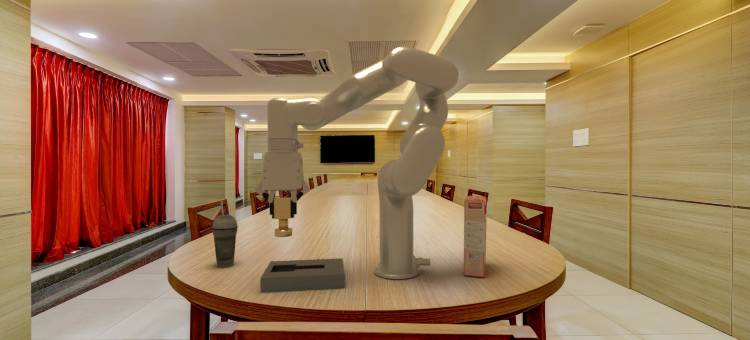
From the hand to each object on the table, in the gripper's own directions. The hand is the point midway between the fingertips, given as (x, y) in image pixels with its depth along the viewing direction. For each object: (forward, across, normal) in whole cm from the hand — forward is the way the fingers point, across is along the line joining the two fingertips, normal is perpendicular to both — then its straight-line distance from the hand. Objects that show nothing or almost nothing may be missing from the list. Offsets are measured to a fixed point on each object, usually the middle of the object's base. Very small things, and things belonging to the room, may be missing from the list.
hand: (283, 216), depth 87 cm
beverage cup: (+17, +20, -17) cm, 31 cm away
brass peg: (+5, 0, 0) cm, 5 cm away
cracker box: (+17, -54, -2) cm, 56 cm away
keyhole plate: (+17, -6, 0) cm, 18 cm away
